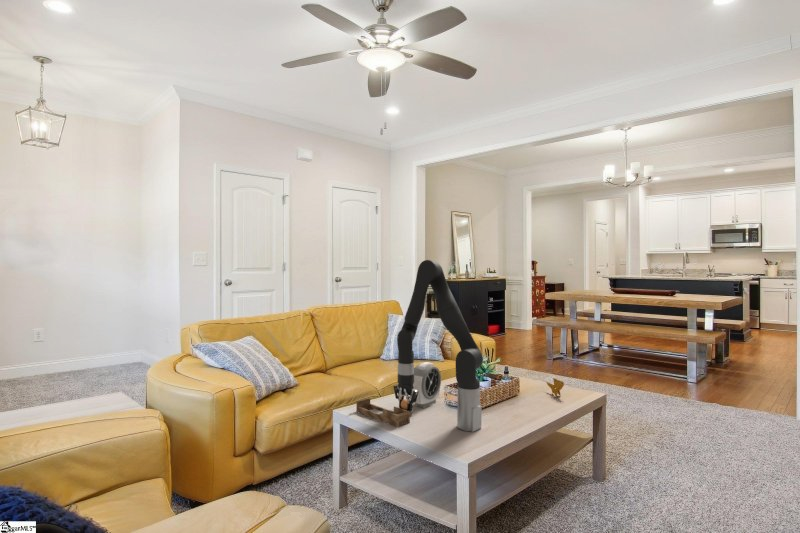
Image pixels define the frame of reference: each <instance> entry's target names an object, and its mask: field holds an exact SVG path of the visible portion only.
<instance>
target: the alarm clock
mask: <svg viewBox="0 0 800 533" xmlns="http://www.w3.org/2000/svg"><path fill="white" fill-rule="evenodd" d="M441 384H442V375H441V371H440V369H439V368H438V367H437V366H436V365H434V363H432V362H427V361H425V362H424V361H423V362H421V363H419V364H417V365H416V366H414V383H413V387H414V389H415V390H418V391H419V392H418V396H417V400H416V402H415V403H414V407H418V408H423V409H424V408H427V407H429V406H431V405H433V404H436V403H437V400H436V399H438V398H439V397H440V392H441Z"/></svg>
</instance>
